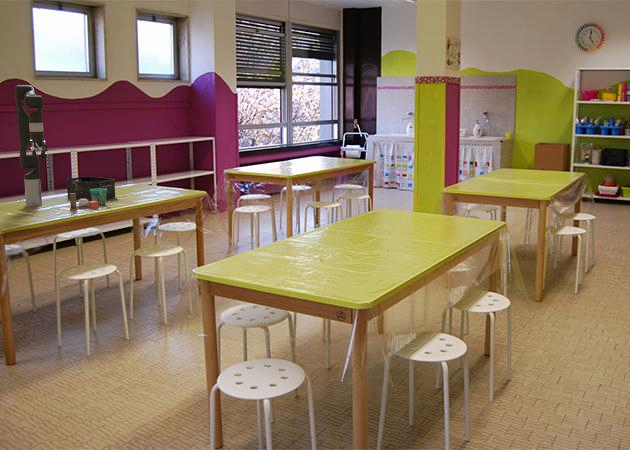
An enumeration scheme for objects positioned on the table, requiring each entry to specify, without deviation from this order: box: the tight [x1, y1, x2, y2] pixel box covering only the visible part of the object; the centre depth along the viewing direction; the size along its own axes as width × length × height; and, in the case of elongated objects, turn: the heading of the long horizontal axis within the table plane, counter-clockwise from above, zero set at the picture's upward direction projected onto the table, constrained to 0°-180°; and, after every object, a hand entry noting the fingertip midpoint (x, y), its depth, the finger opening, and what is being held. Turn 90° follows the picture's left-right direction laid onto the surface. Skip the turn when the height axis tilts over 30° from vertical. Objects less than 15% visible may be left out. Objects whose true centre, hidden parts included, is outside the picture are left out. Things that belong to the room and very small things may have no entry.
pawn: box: [69, 193, 79, 212], centre depth 407 cm, size 5×5×10 cm
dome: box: [77, 199, 89, 206], centre depth 416 cm, size 6×6×4 cm
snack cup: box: [90, 188, 107, 206], centre depth 430 cm, size 16×10×10 cm
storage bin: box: [66, 175, 116, 202], centre depth 457 cm, size 29×19×13 cm
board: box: [58, 201, 99, 214], centre depth 413 cm, size 19×16×5 cm
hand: (38, 158), depth 394 cm, fingers open, 8 cm apart
